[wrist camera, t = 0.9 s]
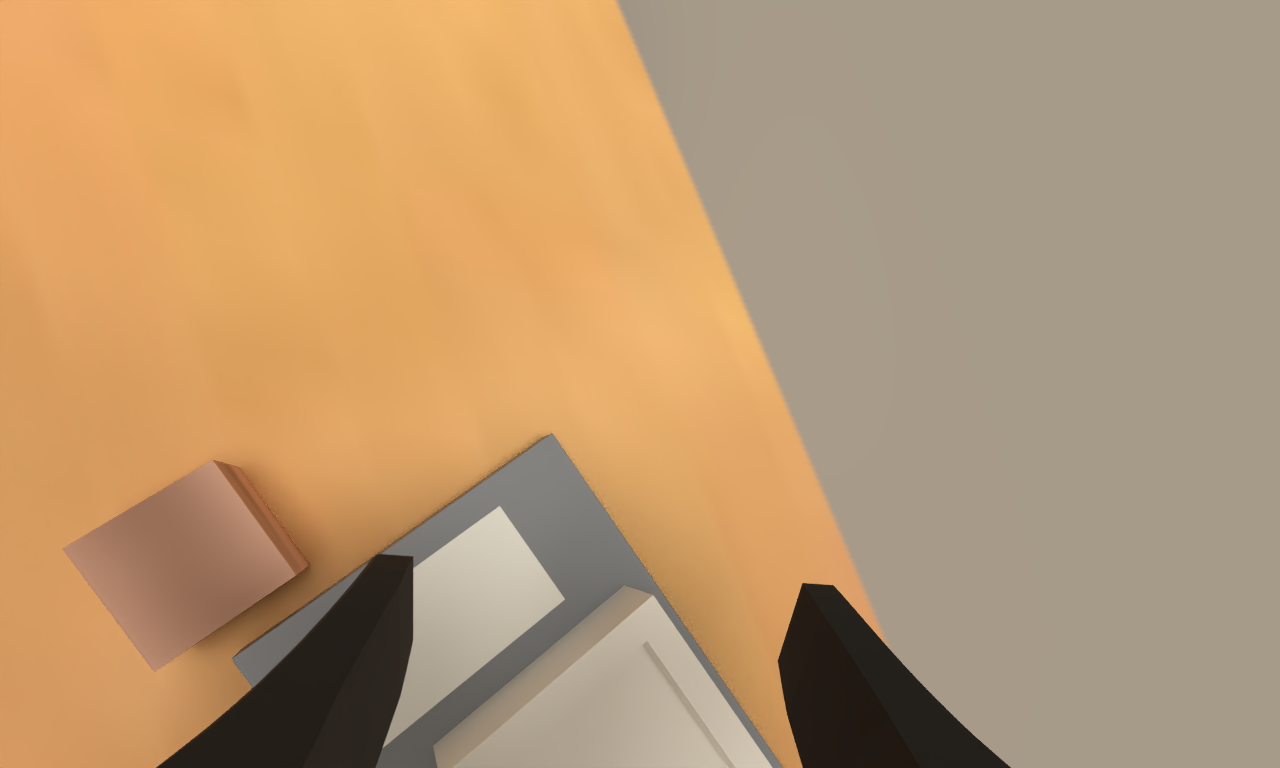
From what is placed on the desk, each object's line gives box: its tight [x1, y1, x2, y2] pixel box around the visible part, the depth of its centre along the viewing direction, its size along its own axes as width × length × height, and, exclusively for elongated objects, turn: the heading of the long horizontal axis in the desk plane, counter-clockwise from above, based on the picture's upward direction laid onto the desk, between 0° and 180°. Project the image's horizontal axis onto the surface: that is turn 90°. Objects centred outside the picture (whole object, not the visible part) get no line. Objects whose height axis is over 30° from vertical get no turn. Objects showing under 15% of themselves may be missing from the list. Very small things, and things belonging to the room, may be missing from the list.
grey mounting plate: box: [232, 434, 783, 768], centre depth 25 cm, size 12×18×2 cm, turn 36°
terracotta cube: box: [63, 460, 309, 672], centre depth 21 cm, size 4×4×4 cm
